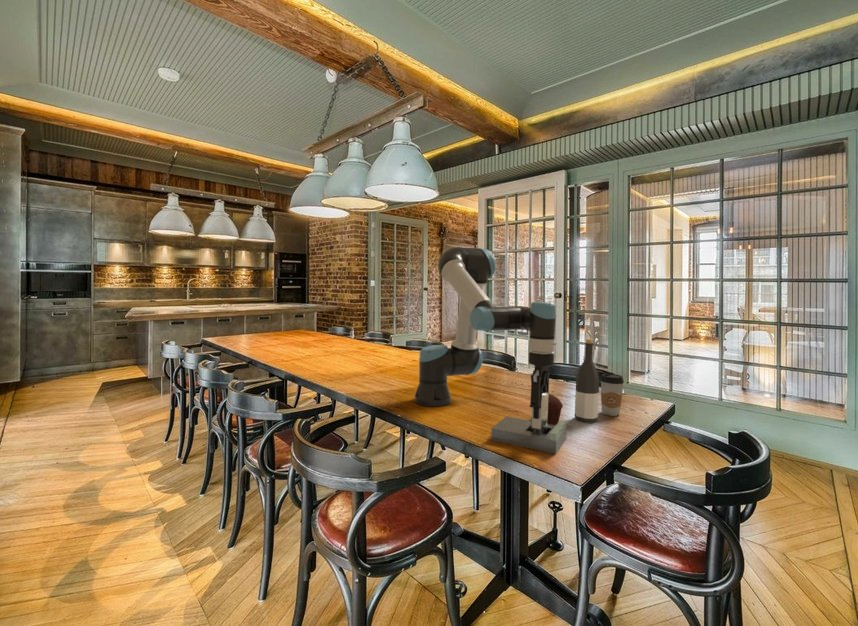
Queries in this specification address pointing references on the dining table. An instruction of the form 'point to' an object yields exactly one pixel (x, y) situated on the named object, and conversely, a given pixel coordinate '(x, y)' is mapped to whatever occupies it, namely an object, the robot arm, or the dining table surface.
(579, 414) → the wine bottle
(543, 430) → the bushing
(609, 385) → the coffee cup
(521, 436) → the jig
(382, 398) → the dining table surface
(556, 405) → the muffin
